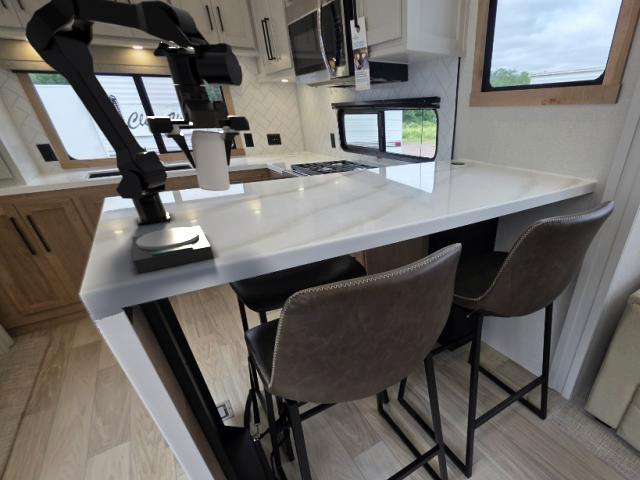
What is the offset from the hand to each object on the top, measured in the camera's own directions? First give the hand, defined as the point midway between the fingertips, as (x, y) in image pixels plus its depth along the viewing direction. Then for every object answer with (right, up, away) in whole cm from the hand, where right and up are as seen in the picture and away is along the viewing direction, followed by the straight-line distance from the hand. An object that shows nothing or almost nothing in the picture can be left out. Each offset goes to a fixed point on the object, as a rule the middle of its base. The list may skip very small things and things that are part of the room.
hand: (211, 167), depth 75 cm
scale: (-2, -21, -10) cm, 23 cm away
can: (0, -4, +2) cm, 5 cm away
